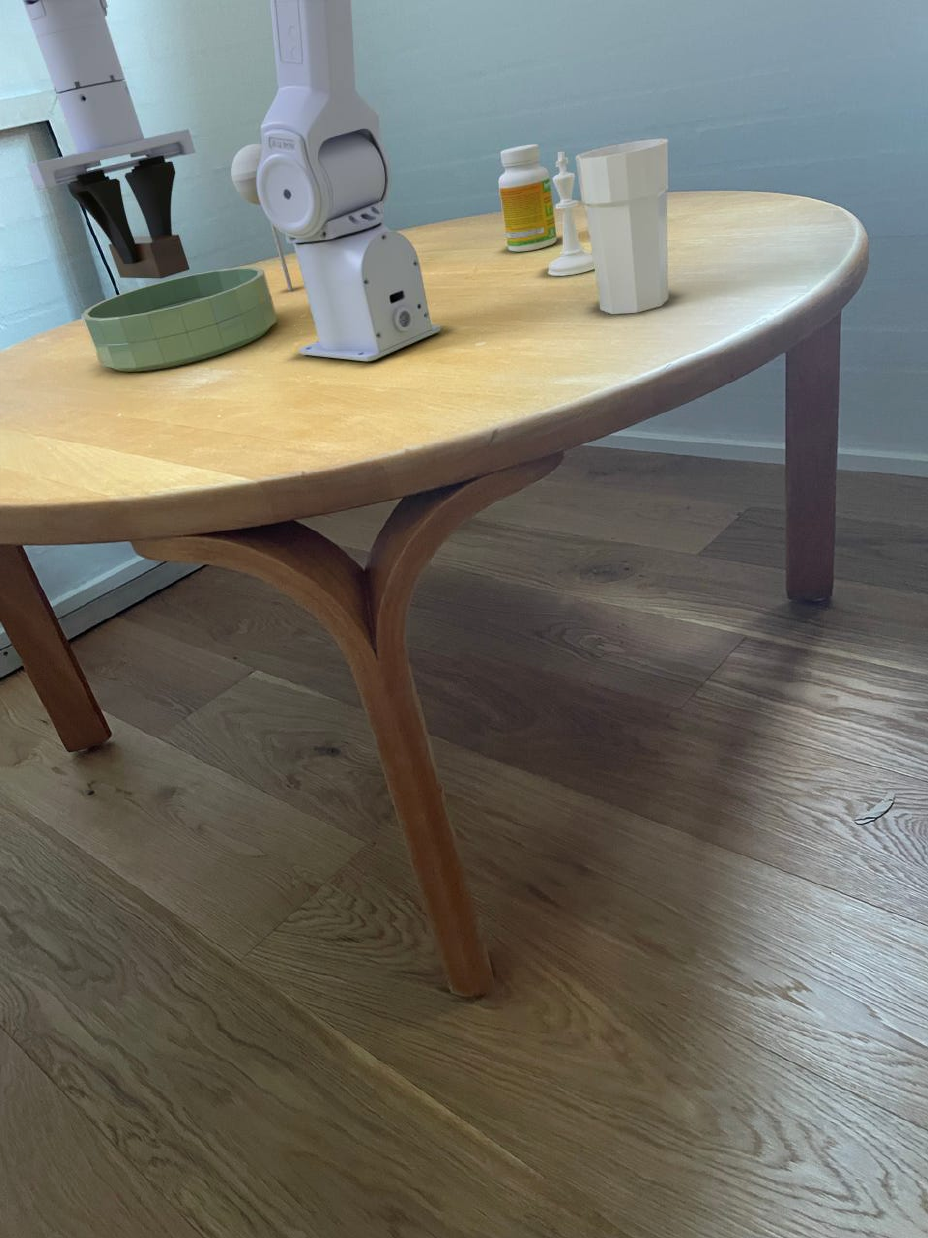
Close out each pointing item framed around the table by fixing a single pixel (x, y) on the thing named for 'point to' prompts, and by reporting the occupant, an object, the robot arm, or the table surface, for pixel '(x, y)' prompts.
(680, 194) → the table surface
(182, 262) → the block
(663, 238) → the cup
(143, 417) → the table surface
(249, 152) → the lollipop
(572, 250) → the chess piece
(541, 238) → the supplement bottle
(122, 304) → the bowl
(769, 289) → the table surface
